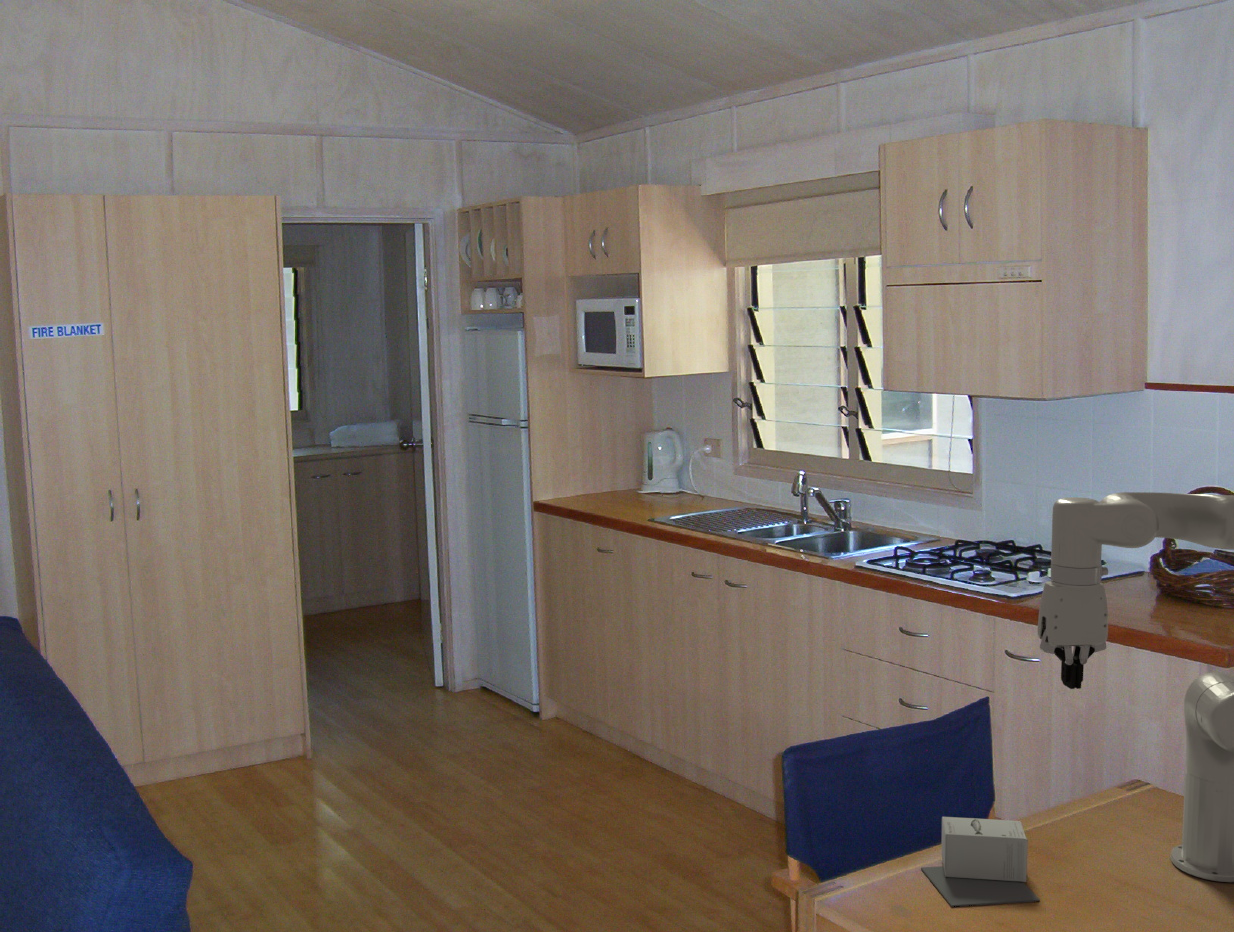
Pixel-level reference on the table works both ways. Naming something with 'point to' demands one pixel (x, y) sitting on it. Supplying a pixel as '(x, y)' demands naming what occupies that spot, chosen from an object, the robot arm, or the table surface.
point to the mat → (978, 889)
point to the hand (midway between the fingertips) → (1071, 686)
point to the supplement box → (984, 849)
